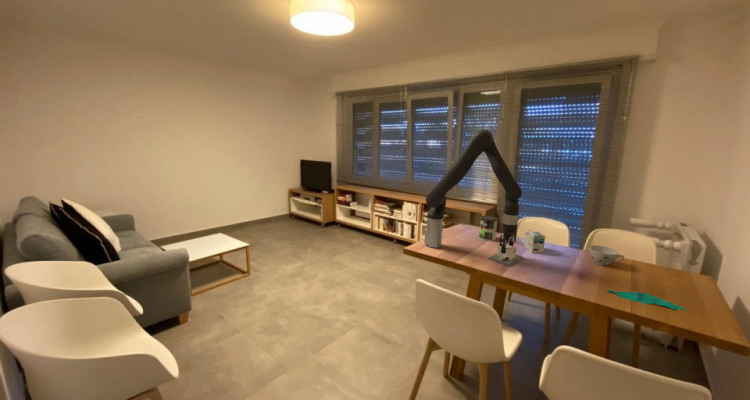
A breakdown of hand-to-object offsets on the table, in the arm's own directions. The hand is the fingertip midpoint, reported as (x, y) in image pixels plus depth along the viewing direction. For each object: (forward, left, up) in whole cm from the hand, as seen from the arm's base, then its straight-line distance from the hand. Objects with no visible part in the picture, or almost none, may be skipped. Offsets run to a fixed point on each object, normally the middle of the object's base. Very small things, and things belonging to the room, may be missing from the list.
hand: (506, 251), depth 168 cm
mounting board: (0, 0, -4) cm, 4 cm away
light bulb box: (+4, +26, -5) cm, 27 cm away
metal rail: (0, 0, -4) cm, 4 cm away
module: (0, 0, -3) cm, 3 cm away
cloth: (+58, +3, -5) cm, 58 cm away
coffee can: (-24, +24, -4) cm, 34 cm away
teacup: (+37, +34, -4) cm, 50 cm away
